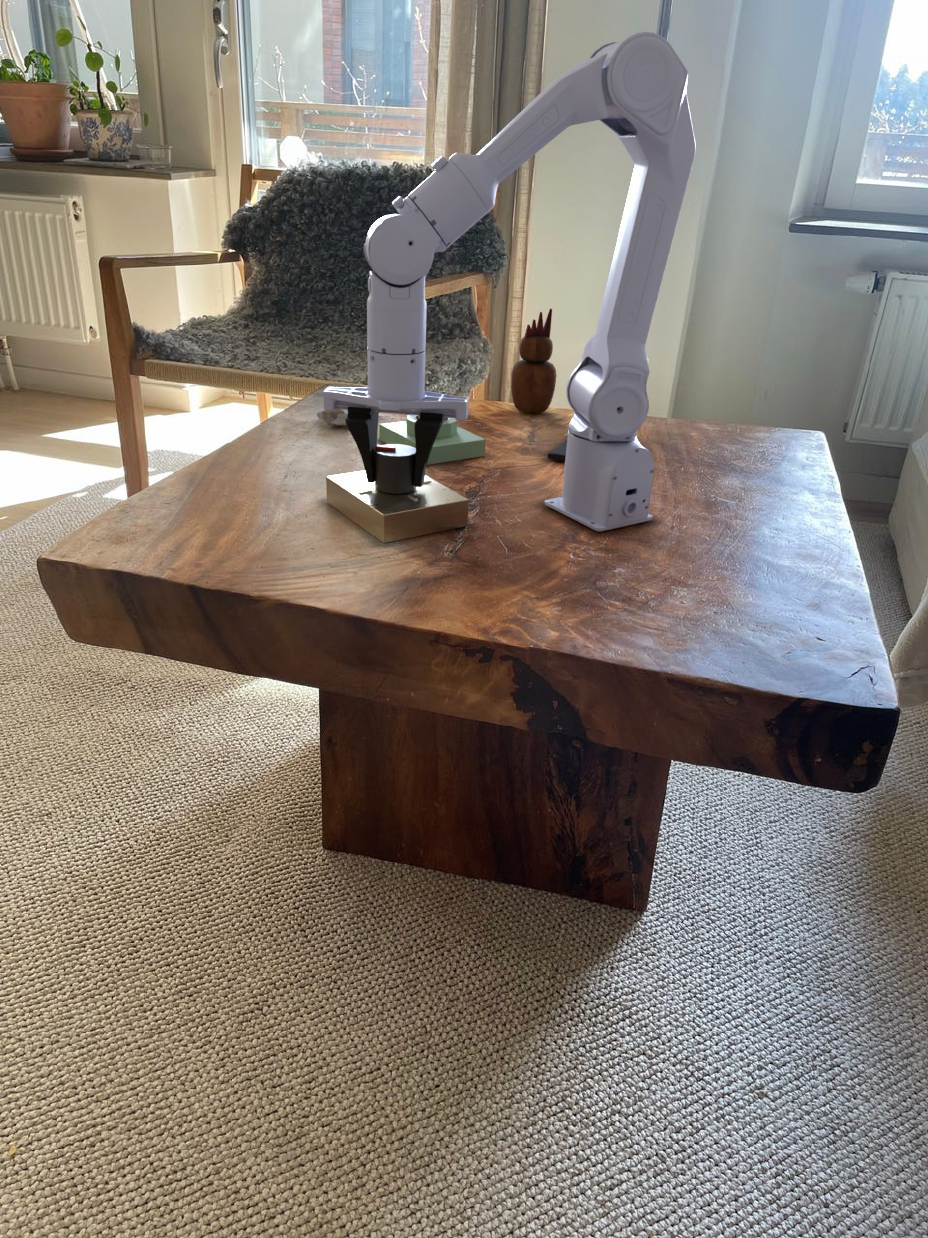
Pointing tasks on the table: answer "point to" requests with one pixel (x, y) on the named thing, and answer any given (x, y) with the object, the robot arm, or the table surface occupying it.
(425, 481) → the panel
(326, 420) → the stone
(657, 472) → the table surface
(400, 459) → the dial
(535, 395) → the wooden figurine
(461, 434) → the button block
